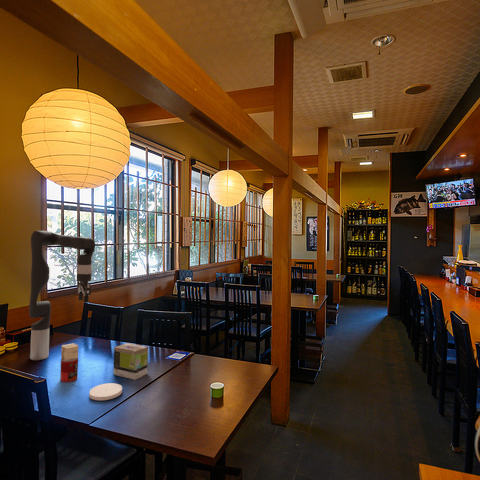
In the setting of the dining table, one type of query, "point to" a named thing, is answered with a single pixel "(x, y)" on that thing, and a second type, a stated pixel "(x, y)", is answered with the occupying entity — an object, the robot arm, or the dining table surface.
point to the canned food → (69, 370)
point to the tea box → (130, 360)
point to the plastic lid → (105, 391)
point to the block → (69, 351)
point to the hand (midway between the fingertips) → (83, 301)
